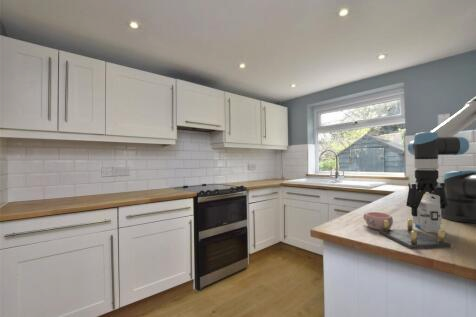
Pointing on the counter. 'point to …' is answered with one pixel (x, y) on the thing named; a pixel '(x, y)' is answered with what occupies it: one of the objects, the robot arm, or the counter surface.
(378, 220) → the pink bowl
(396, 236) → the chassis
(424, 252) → the counter surface
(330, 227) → the counter surface
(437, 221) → the ink box
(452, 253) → the counter surface
